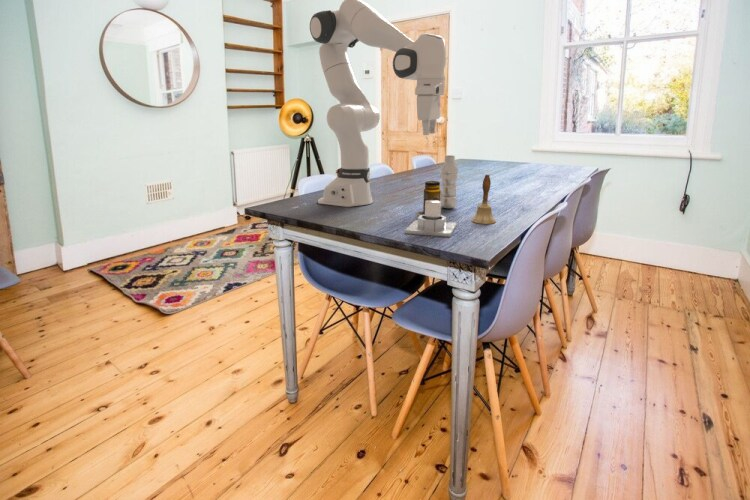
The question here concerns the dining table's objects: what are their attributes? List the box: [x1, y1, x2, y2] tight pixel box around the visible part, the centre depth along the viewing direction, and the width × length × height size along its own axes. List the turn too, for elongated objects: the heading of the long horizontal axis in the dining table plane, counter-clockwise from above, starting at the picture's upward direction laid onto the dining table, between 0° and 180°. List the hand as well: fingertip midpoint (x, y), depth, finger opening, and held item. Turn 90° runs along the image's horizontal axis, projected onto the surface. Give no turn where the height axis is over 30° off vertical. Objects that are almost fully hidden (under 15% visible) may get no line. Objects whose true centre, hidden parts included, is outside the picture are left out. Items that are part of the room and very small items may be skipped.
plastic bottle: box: [440, 154, 459, 210], centre depth 174 cm, size 6×7×20 cm
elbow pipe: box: [425, 200, 442, 220], centre depth 146 cm, size 5×5×8 cm
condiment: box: [414, 180, 444, 217], centre depth 166 cm, size 7×8×12 cm
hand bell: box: [470, 174, 497, 225], centre depth 155 cm, size 8×8×16 cm
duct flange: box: [404, 214, 458, 238], centre depth 146 cm, size 14×14×4 cm
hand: (429, 134), depth 149 cm, fingers open, 8 cm apart
